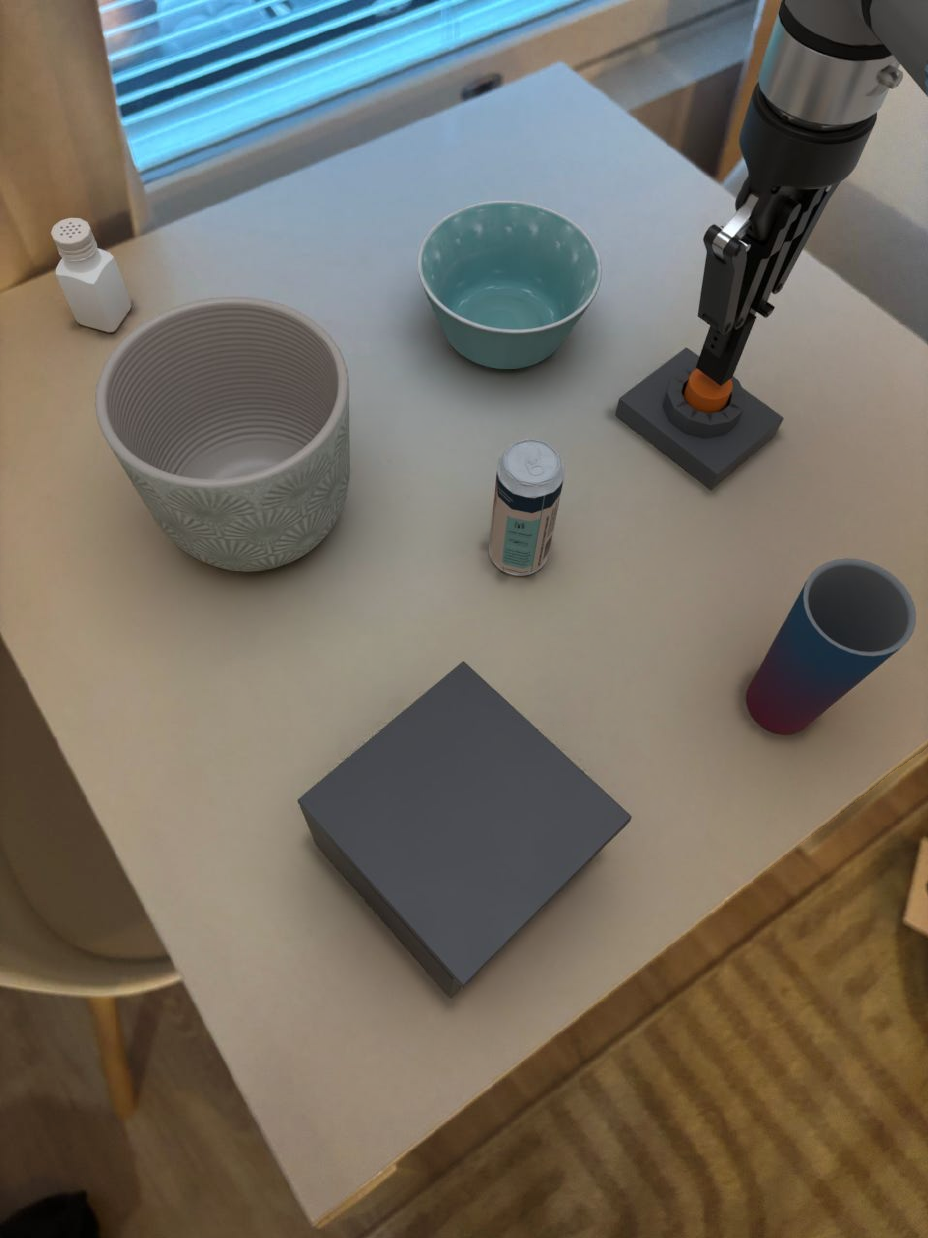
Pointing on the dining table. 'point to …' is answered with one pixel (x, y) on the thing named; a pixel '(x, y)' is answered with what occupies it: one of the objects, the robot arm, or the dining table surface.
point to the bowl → (508, 280)
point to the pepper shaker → (89, 277)
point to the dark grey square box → (384, 911)
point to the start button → (706, 393)
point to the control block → (697, 422)
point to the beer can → (525, 506)
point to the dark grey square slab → (464, 819)
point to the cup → (830, 643)
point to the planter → (232, 428)
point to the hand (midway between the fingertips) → (714, 371)
